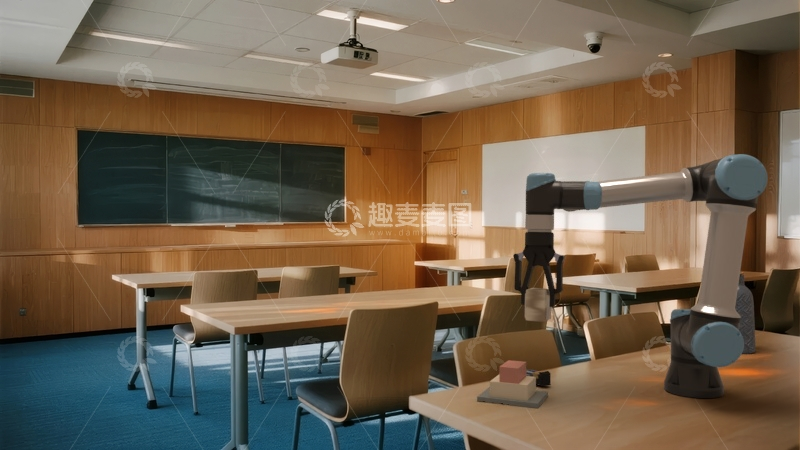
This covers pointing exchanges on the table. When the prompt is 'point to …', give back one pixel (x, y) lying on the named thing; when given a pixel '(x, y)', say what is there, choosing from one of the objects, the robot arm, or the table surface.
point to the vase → (746, 316)
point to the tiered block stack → (513, 387)
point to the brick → (536, 304)
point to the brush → (540, 377)
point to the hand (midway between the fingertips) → (537, 318)
